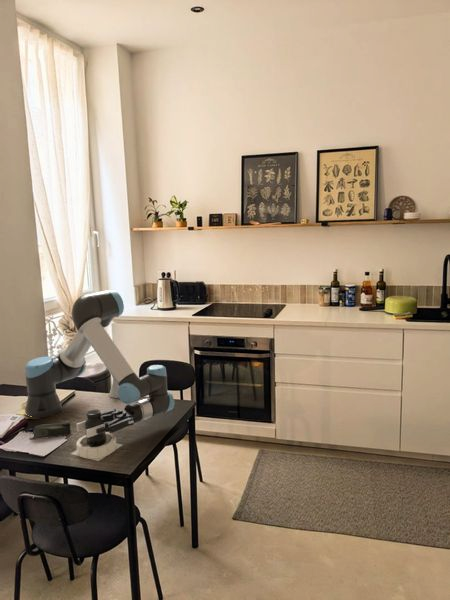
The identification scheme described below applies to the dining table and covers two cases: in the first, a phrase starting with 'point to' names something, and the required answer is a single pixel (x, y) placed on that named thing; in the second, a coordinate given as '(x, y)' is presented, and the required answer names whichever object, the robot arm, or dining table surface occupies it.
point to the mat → (100, 457)
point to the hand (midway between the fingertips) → (82, 430)
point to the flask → (114, 389)
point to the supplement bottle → (93, 421)
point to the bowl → (99, 451)
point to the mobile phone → (51, 430)
